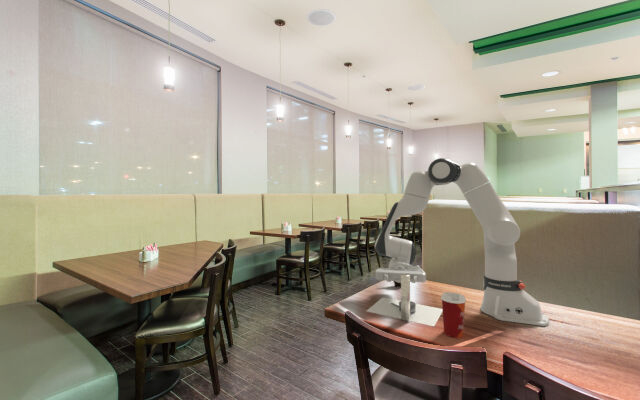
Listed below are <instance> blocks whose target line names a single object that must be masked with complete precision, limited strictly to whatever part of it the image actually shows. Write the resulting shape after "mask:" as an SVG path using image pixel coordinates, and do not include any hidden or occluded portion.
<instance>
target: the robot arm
mask: <svg viewBox="0 0 640 400" xmlns="http://www.w3.org/2000/svg"><path fill="white" fill-rule="evenodd" d="M450 183H454V184H456V186H457V187H458V188H459V189H460V191H461V194H462V195H463V197H464V198H465V200H466V202H467V204H468V205H469V207H470V209H471V211H472V212H473V214H474V215H475V217H476V219H477V220H478V222H479V224H480V225H481V227H482V229H483V247H484V248H483V249H484V275H483V279H482V280H483V281H482V282H483V283H482V284H483V285H482V286H483V289H484V290H483V298H482V303H481V306H480V311H481V312H483V313H484V314H486V315H488V316H490V317H493V318H494V319H496V320H499V321H502V322H503V321H504V322H511V323H518V324H527V325H532V326H538V327H539V326H541V327H546V326H548V325H549V324H550V321H549V317H548V316H547V315H546V313H544V312H542V309H541V306H540V303H539V301H538V300H537V299H536V298H535V297H534V296H532V295H530V294H529V293H528V292H526V291H525V290H524V289H526V285H525V283H524V282H523V281H522V280H519V279H518V259H517V252H516V245H515V244H516V243H517V241H519V240H520V237H521V229H520V227H519V225H518V222H516V220H515V218H514V217H513V215H512V214H511V213H510V211H509V210H508V208H507V207H506V206H505V204H504V203H503V201H502V200H501V198H500V197H499V194H498V193H497V191H496V190H495V188H494V187H493V185H492V184H491V183H492V182H490V180H489V178H488V177H487V175H486V174H485V173H484V171H483V170H482V169H481V167H479V166H478V164H476V163H473V162H468V163H467V162H466V163H464V164H461V165H459V164H458V163H456V162H454V161H452V160H451V159H448V158H445V157H443V158H442V157H441V158H436V159H434V160H433V161H432V162H431V163H430V164H429V166H428V168H427V170H426V171H422V170H418V171H413V172H412V173H411V175H410V176H409V179H408V181H407V182H406V186H405V188H404V189H405V190H404V192H403V195H402V197H401V199H400V200H399V201H397V202H394V204H393V205H392V207H391V208H390V211H389V213H388V215H387V217H386V220H385V222H384V225H383V226H382V229H381V231H380V233H379V235H378V236H377V238H376V240H375V242H374V250H375V252H376V253H377V255H379V256H383V257H389V258H391V259H390V261H389V262H388V268H386V267H385V268H383V267H378V268H377V269H376V270H375V272H374V273H375V280H377V281H386V282H390V283H391V282H393V281H395V282H398V283H401V274H409V275H410V283H411V284H416V283H423V284H424V283H426V282H427V273H426V272H425V271H424V269H422V268H421V266H420V265H418V264H413V263H414V261H415V260H416V259H415V258H416V253H417V251H416V250H417V249H416V245H415V243H414V242H413V241H412V240H408V239H405V238H400V237H396V236H392V235H391V234H390V233H391V231H392V229H393V227H394V224H395V222H396V221H397V220H398V219H399V218H401V217H406V216H414V215H419V214H420V213H423V212H424V211H425V210H426V209H427V206H428V204H429V200H430V195H431V192H432V190H433V188H434V187H435V186H446V185H449V184H450Z"/></svg>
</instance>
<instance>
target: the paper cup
mask: <svg viewBox="0 0 640 400" xmlns="http://www.w3.org/2000/svg"><path fill="white" fill-rule="evenodd" d="M440 299H441V306H442V308H441V309H443V312H442V323H443V324H442V325H443V333H444V334H445V335H446V336H447V337H450V338H454V339H455V338H456V339H460V338H463V337H464V323H465V312H466V311H465V307H466V306H465V305H466V303H467V300H466V297H465V296H464V295H463V294H462V293H458V292H450V291H449V292H443V293H442V294H441V296H440Z"/></svg>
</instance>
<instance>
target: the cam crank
mask: <svg viewBox="0 0 640 400" xmlns="http://www.w3.org/2000/svg"><path fill="white" fill-rule="evenodd" d="M399 301H400V302H399V311H401V319H400V320H402V321H405V322H406V321H407V322H409V321H408V320H410V313H415V312H416V304H417V303H415V302H414V301H412V300H411V282H410V275H409V274H401V287H400V300H399Z"/></svg>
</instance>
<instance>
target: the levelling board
mask: <svg viewBox="0 0 640 400" xmlns="http://www.w3.org/2000/svg"><path fill="white" fill-rule="evenodd" d="M400 301H401V300H399V299H398V300H397V299H393V298H387V297H381V298H380V299H378V301H377V302H375V303H374V304H373V305H372V306H370V307H368V309H366V312H368V313H372V314H377V315H381V316H385V317H389V318H395V319H399V320H402V319H401V311H399V302H400ZM415 304H416V312H415V313H410V320H408V321H407V322H411V323H418V324H420V325H426V326H429V327H435V326H436V324H437V322H438V320H439V319H440V317H441V315H442V314H443V309H442V308H440V307H435V306H429V305H423V304H419V303H415Z"/></svg>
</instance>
